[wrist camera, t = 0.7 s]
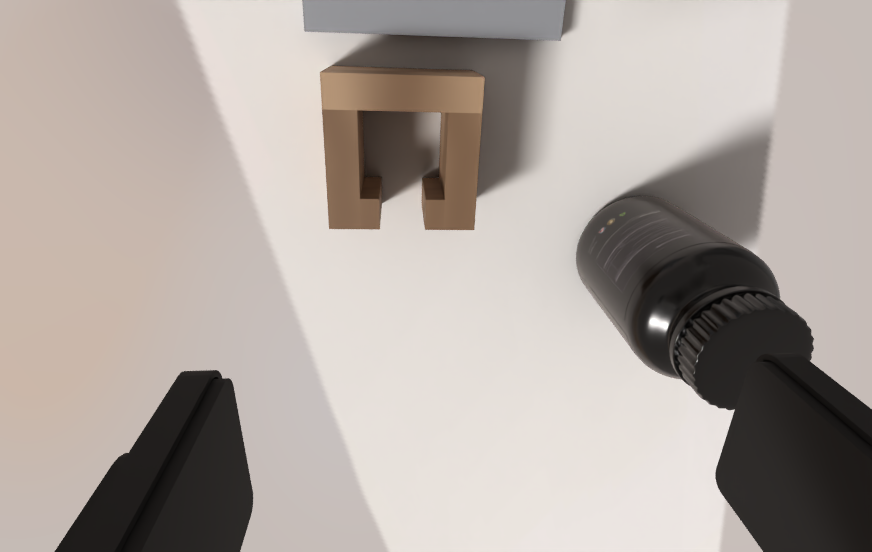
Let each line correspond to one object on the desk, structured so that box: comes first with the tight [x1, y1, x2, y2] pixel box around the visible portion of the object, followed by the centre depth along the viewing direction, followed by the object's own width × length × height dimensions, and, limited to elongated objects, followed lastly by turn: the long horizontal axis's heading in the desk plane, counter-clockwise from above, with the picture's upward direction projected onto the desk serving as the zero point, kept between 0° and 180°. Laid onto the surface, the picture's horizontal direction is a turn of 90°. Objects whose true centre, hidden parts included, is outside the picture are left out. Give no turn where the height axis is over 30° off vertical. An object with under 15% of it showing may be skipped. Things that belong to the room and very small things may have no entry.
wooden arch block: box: [320, 66, 485, 230], centre depth 25 cm, size 7×7×4 cm
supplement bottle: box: [576, 196, 814, 410], centre depth 25 cm, size 7×7×12 cm
